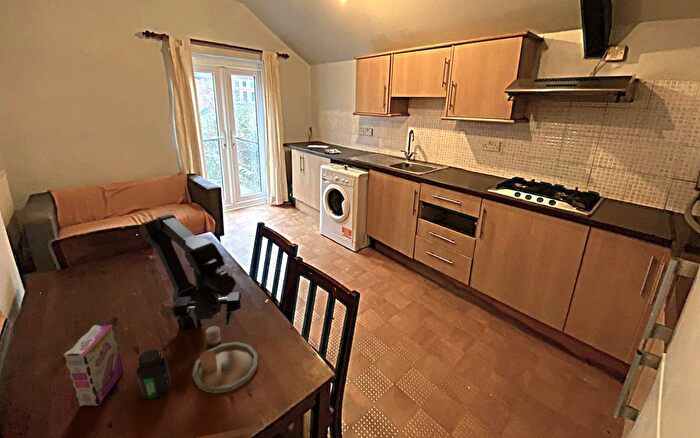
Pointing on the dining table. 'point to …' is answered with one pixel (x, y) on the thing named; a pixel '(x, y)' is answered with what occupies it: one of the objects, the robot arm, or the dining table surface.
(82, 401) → the candy bar box
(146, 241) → the robot arm
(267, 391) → the dining table surface
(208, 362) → the terracotta bead
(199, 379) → the ring dish
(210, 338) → the maple bead
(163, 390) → the supplement bottle
